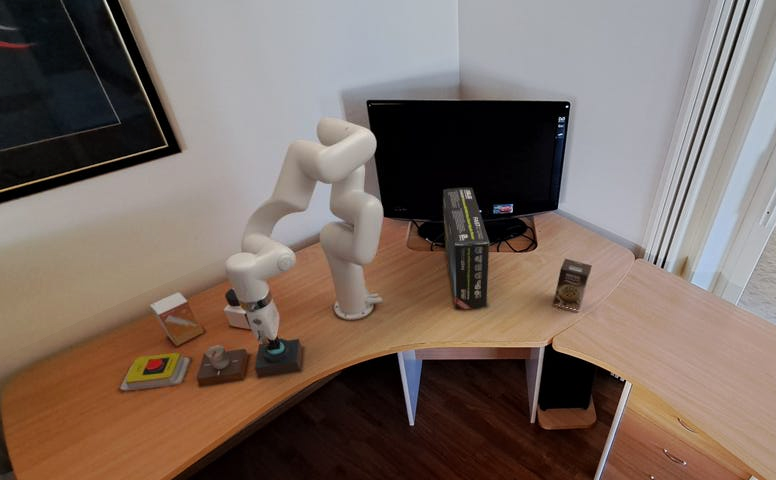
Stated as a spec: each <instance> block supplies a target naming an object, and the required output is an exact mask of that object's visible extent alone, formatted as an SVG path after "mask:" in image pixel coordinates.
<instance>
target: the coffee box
mask: <svg viewBox="0 0 776 480" xmlns="http://www.w3.org/2000/svg"><path fill="white" fill-rule="evenodd" d="M592 267H593V266H592V265H591V264H587V263H584V262H580V261H576V260H572V259H568V258H565V259H563V263H562V265H561V266H560V271H559V276H558V279H557V280H558V281H557V284H556V289H555V294H554V300H553V304H552V305H553V307H557V308H561V309H564V310H567V311H571V312H574V313H580V310H581V308H582V305H583V301H584V297H585V293H586V289H587V286H588V282H589V278H590V275H591V271H592ZM556 304H557V305H556ZM559 305H560V306H559ZM563 306H564V307H563ZM566 307H568V308H566ZM570 308H572V309H570ZM573 309H576V310H573ZM579 309H580V310H579ZM577 310H579V311H577Z"/></svg>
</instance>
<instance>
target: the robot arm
mask: <svg viewBox="0 0 776 480" xmlns="http://www.w3.org/2000/svg"><path fill="white" fill-rule="evenodd" d="M316 135H317V139H318V141H319V142H320V143H319V142H316V141H312V140H309V139H301V138H300V139H296V140H293V141H292V142H291V143H290V145H289V146H288V148H287V150H286V151H287V152H286V153H285V157H284V159H283V162H282V166H281V169H280V172H279V175H278V177H277V180H276V184H275V186H274V190H273V191H272V194H271V196H270V197H269V198H267V200H265V201H264V202H262V203H261V205H259V206H258V207H257V208H256V209H255V211H254V212H253V213H251V215H250V216H249V219H248V220H247V223H246V225H245V228H244V232H243V234H242V237H241V243H240V251H241V252H237V253H235V254H232V255H230V256H229V257H227V259H226V260H225V262H224V270H225V272H226V275H227V278H228V280H229V282H230V285H231V287H232V288H233V289H234V292H235V294H236V296H237V299H238V301H239V303H240V306H241V308H242V309H243V310H244V311H246V314H247V317H248V321H249V324H250V327H251V329H250V330H251V332H252V334H253V337H254V339H255V340H256V341H257V342H258V343H259V342H260V341H261V344H263V346H266V347H267V349H268V350H277V349H280V345H281V344H280V341H279V339H280V338H279V336H278V331H279V325H280V314H279V311H278V308H277V306H276V304H275V302H274V299H273V296H272V293H271V290H270V287H269V284H268V281H267V280H269V279H272V278H275V277H279V276H281V275H283V274H286V273H287V272H289V271H290V270H292V268H294V266H295V265H296V261H297V258H296V254H295V252H294V251H293V250H292V249H291V248H290V247H288V246H286V245H285V244H282V243H280V242H279V241H277V240H275V239H273V238H271V236H272V233H273V231H274V228H275V226H276V225H277V223H278V222H279V221H280V220H281V219H283V218H284V217H285V216H288V215H291V214H294V213H302V212H305V211H307V210H308V209H309V206H310V203H311V200H312V197H313V194H314V192H315V189H316V185H317V183H318V182H320V183H323V184H326V185H331V189H330V195H329V210H330V212H331V214H332V215H333V216H334V217H336V218H338V219H340V220H342V221H343V222H342V221H329V222H327V223H326V224H324V225H323V226H322V228H321V229H320V233H319V243H320V246H321V249H322V251H323V254H324V255H325V258H326V260H327V263H328V266H329V270H330V275H331V279H332V283H333V287H334V292H335V296H336V301H335V304H334V306H333V311H334V313H335V314H336V316H337V317H339V318H340V319H342V320H347V321H354V320H359V319H362V318H364V317H367V316H368V315H369V314H370V313H371V312H372V311H373V310H374V304H382V303H383V297H382V296H379V293H369V289H367V286H366V285H367V284H366V281H365V275H364V268H363V267H365V266H368V265H370V264H371V263H372V262H373V260H374V259H375V258H376V255H377V253H378V250H379V243H380V238H381V233H382V228H383V227H382V226H383V221H384V208H383V205H382V202H381V200H380V199H378V197H376V196H374V195H373V194H370V193H367V192H366V191H365V180H366V165H365V164H366V163H368V162H369V161H370V160H371V159H372V157H374V155H375V153H376V149H377V139H376V136H375V134H374V132H372V131H371V130H370V129H368V128H367V127H365V126H362V125H358V124H355V123H352V122H349V121H346V120H344V119H340V118H336V117H331V116H329V117H328V116H327V117H323V118H322V119H320V120H319V121H318V122H317V125H316ZM345 222H346V223H345ZM347 223H349V224H347ZM352 225H353V226H352Z"/></svg>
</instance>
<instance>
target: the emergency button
mask: <svg viewBox="0 0 776 480" xmlns="http://www.w3.org/2000/svg"><path fill="white" fill-rule="evenodd" d="M190 362H191V359H190V358H189V357H183V356H182V354H180V352H172V353H163V354H155V355H146V356H139V357H136V358H135V360H134V362H133V364H131V366H130V368H128V372H127V373H126V375H125V377H124V379H123V381H122V383H121V385H120V387H119V388H120V390H121V391H122V392H127V391H137V390H142V389H143V390H144V389H152V388H153V389H154V388H160V387H167V386H169V387H170V386H177V385H179V384H182V382H183V381H184V377H185V376H186V373H187V370H188V367H189V365H190Z"/></svg>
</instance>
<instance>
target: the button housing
mask: <svg viewBox="0 0 776 480" xmlns="http://www.w3.org/2000/svg"><path fill="white" fill-rule="evenodd" d="M278 339H279V341H280V342H281V343H283V345H284V347H285V349H284V350H283V351H282V352H281V353H279V354H276V355H270V354H268V351H267V347H266V346H263V344H262V343H260V344H258V347H257V353H256V358H255V364H254V370H255V372H256V374H257V377H258V378H262V377H269V376H275V375H283V374H289V373H297V372H301V363H302V353H303V346H302V344H301V341H300V339H299V338H295V339H288V340H287V339H284V338H278Z"/></svg>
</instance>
